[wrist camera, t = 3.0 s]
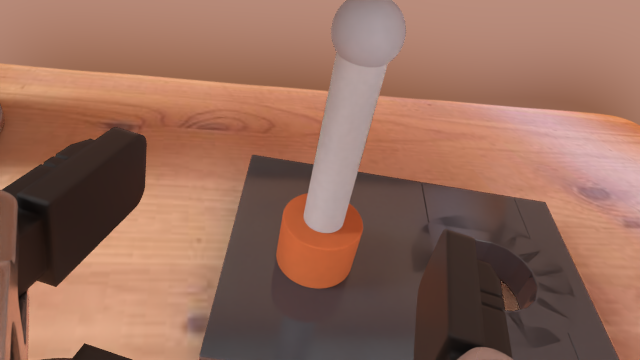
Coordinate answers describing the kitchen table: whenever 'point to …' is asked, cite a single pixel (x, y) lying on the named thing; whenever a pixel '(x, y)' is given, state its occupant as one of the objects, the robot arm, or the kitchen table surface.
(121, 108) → the kitchen table surface
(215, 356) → the dark grey slab
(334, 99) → the stopper
